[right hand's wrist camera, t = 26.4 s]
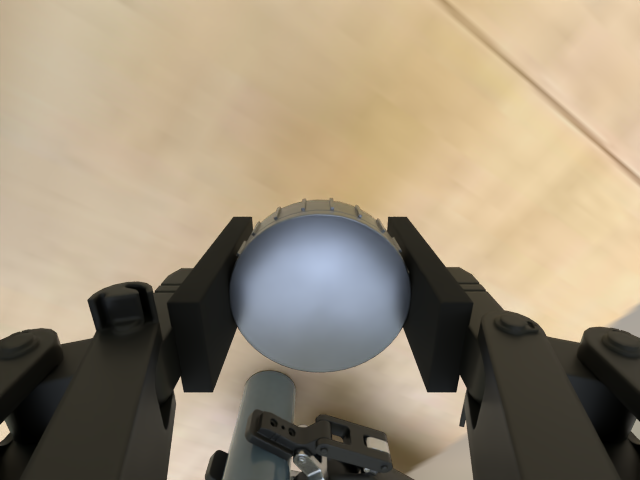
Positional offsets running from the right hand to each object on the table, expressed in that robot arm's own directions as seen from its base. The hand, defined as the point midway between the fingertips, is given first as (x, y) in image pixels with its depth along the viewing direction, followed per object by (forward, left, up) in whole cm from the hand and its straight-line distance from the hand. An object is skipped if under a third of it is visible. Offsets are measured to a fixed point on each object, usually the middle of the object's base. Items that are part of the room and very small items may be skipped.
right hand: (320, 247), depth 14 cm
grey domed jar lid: (0, 0, +4) cm, 4 cm away
